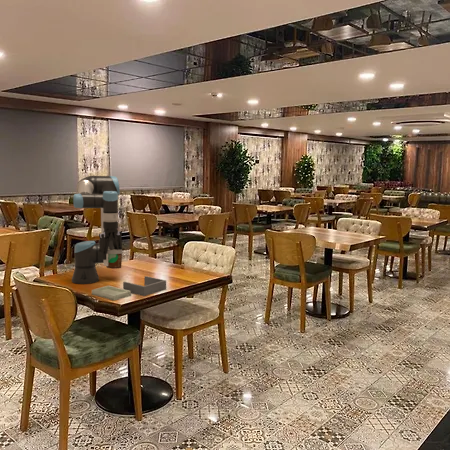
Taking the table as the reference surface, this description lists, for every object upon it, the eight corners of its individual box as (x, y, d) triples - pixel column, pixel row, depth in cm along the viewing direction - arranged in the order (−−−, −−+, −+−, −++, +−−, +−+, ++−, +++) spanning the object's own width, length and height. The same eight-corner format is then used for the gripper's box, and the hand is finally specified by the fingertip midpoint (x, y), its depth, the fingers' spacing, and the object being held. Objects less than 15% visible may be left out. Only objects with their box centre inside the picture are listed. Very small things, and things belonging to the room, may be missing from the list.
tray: (91, 294, 232) (91, 289, 231) (108, 289, 241) (108, 285, 241) (114, 300, 222) (114, 295, 222) (130, 295, 231) (130, 291, 231)
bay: (123, 290, 240) (123, 282, 239) (145, 284, 254) (145, 276, 253) (143, 296, 231) (143, 286, 230) (166, 289, 245) (166, 280, 245)
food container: (98, 266, 231) (98, 247, 230) (108, 264, 236) (108, 246, 234) (113, 270, 223) (113, 251, 222) (123, 268, 228) (122, 249, 227)
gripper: (100, 223, 217) (101, 268, 220) (129, 220, 232) (129, 262, 235) (90, 221, 221) (91, 266, 224) (119, 219, 237) (120, 261, 239)
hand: (111, 264), depth 229 cm, fingers closed on food container, 6 cm apart
